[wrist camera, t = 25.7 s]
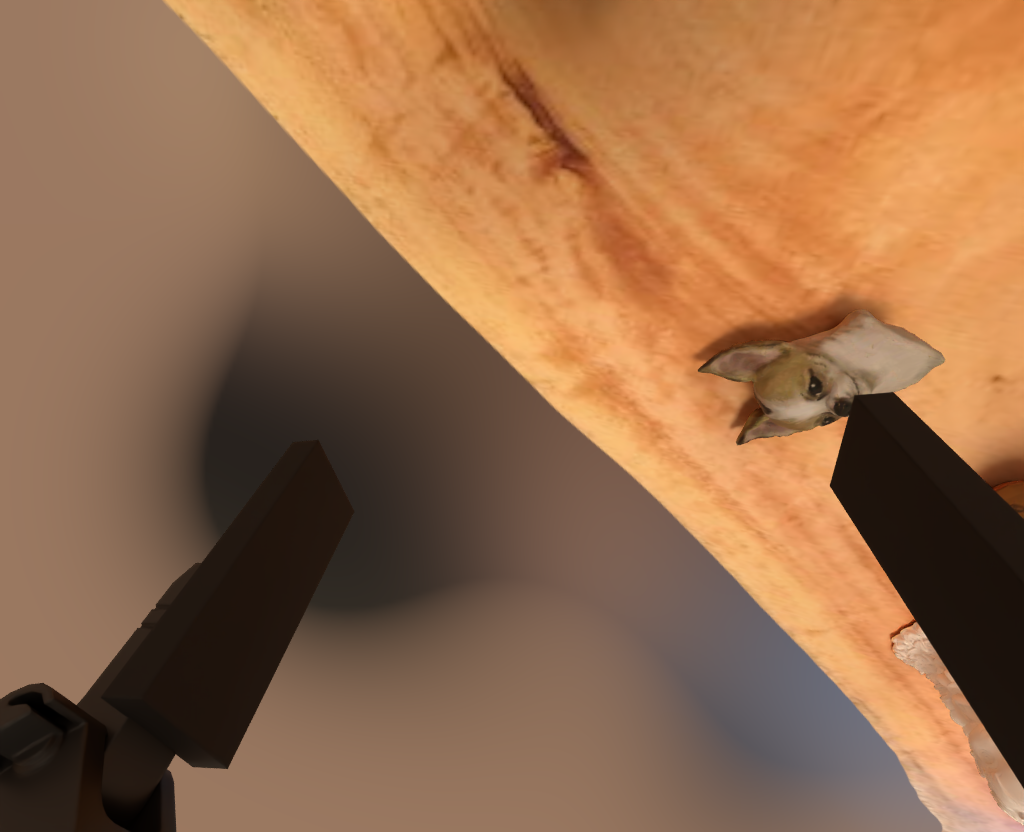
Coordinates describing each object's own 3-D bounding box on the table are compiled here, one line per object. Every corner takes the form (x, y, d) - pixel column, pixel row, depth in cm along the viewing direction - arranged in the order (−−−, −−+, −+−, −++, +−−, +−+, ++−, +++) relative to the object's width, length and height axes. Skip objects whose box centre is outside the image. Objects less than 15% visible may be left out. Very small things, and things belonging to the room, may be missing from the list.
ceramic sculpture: (972, 427, 34) (755, 493, 41) (909, 365, 41) (732, 430, 48) (946, 307, 30) (707, 403, 36) (880, 260, 37) (689, 348, 43)
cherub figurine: (959, 594, 58) (1116, 797, 41) (1031, 627, 60) (1205, 831, 44) (868, 644, 65) (971, 833, 49) (935, 671, 67) (1054, 860, 51)
